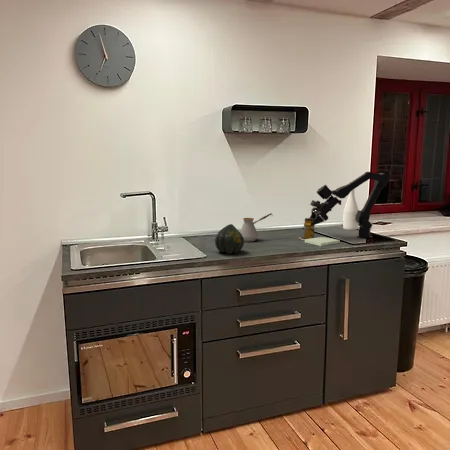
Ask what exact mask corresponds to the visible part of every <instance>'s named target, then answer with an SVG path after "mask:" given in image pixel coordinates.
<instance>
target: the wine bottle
mask: <svg viewBox="0 0 450 450" xmlns="http://www.w3.org/2000/svg"><path fill="white" fill-rule="evenodd" d="M358 210H359V207H358V204H357V201H356V197H355V189H353V190H352V191H351V192H350V193H349V194H348V196H347V200H346V203H345V205H344V207H343V213H342V215H343V220H342V228H343V229H344V230H349V231H355V230H359V225H358V223H357V222H356V220H355V218H356V216H355V215H356V214H357V212H358Z"/></svg>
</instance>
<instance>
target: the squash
mask: <svg viewBox="0 0 450 450" xmlns="http://www.w3.org/2000/svg"><path fill="white" fill-rule="evenodd" d="M244 243H245V241H244V238H243V236H242V234H241V233H240V230H238V228H236V226H235V225H234V224H233V223H229V224H227V225H226V226H224V227H223V228H222V229H220V230H219V231H218V232H217V234H216V236H215V238H214V244H215V247H216V249H217V250H218V251H219V252H221V253H225V252H226V254H228V255H231V254H236V253H238V252H239V251H241V250H242V249H243V247H244Z"/></svg>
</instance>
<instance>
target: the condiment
mask: <svg viewBox="0 0 450 450" xmlns="http://www.w3.org/2000/svg"><path fill="white" fill-rule="evenodd" d="M313 220H314V219H313V218H310V217H305V218H304V223H303V237H302V236H301V237H300V236H299V237H298V238H299V240H302V241H305V239H311V238H315V225H313V226H311V223H312V222H313Z"/></svg>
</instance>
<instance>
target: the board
mask: <svg viewBox="0 0 450 450" xmlns="http://www.w3.org/2000/svg"><path fill="white" fill-rule="evenodd" d="M304 243H306V244H311V245H315V246H319V247H322V246H329V245H334V244H335V245H336V244H339V243H341V242H340V239H336V238H331V237H327V236H319V237H314V238H311V239H305V240H304Z"/></svg>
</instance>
